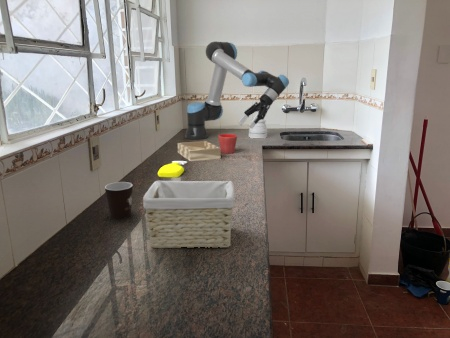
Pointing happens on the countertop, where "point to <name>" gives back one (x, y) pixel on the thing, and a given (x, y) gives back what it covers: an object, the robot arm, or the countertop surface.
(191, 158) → the pine crate
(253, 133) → the honey pot
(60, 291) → the countertop surface
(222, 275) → the countertop surface
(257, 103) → the robot arm
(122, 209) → the coffee mug
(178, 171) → the spray bottle
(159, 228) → the storage basket
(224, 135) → the flower pot
